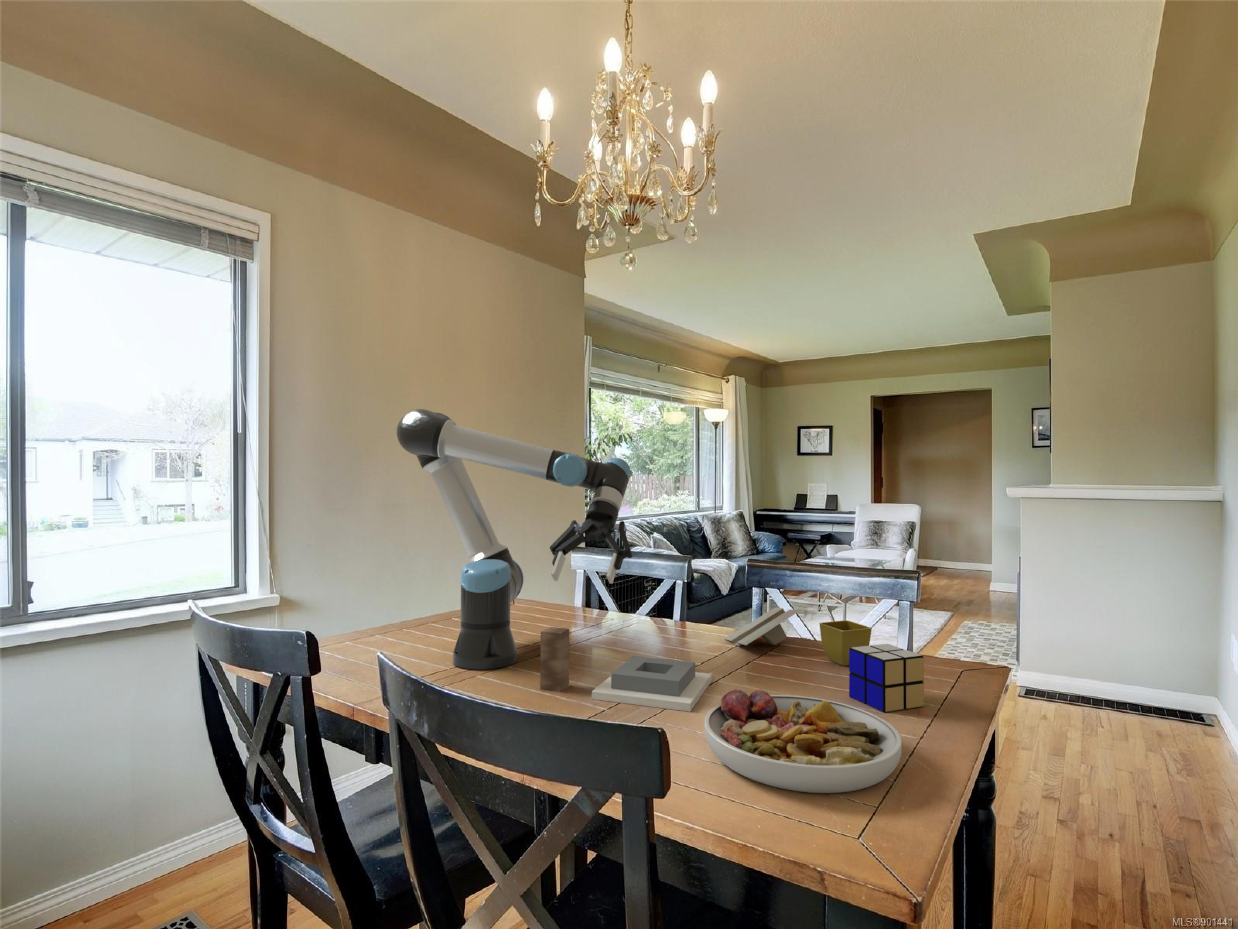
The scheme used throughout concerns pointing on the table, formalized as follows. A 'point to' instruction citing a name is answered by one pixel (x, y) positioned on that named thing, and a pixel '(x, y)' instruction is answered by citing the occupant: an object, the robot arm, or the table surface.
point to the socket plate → (655, 698)
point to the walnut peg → (554, 659)
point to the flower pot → (843, 639)
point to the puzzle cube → (886, 677)
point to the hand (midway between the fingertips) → (581, 578)
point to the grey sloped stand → (763, 628)
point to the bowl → (802, 742)
